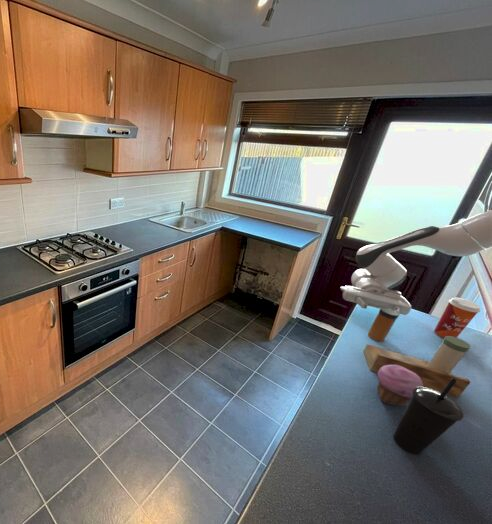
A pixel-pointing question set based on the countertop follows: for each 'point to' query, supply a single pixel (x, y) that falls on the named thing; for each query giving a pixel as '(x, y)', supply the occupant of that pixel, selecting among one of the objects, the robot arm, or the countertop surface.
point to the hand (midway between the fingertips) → (380, 310)
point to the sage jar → (448, 354)
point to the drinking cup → (426, 418)
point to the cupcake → (397, 384)
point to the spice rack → (415, 369)
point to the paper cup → (456, 317)
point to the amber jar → (383, 324)
